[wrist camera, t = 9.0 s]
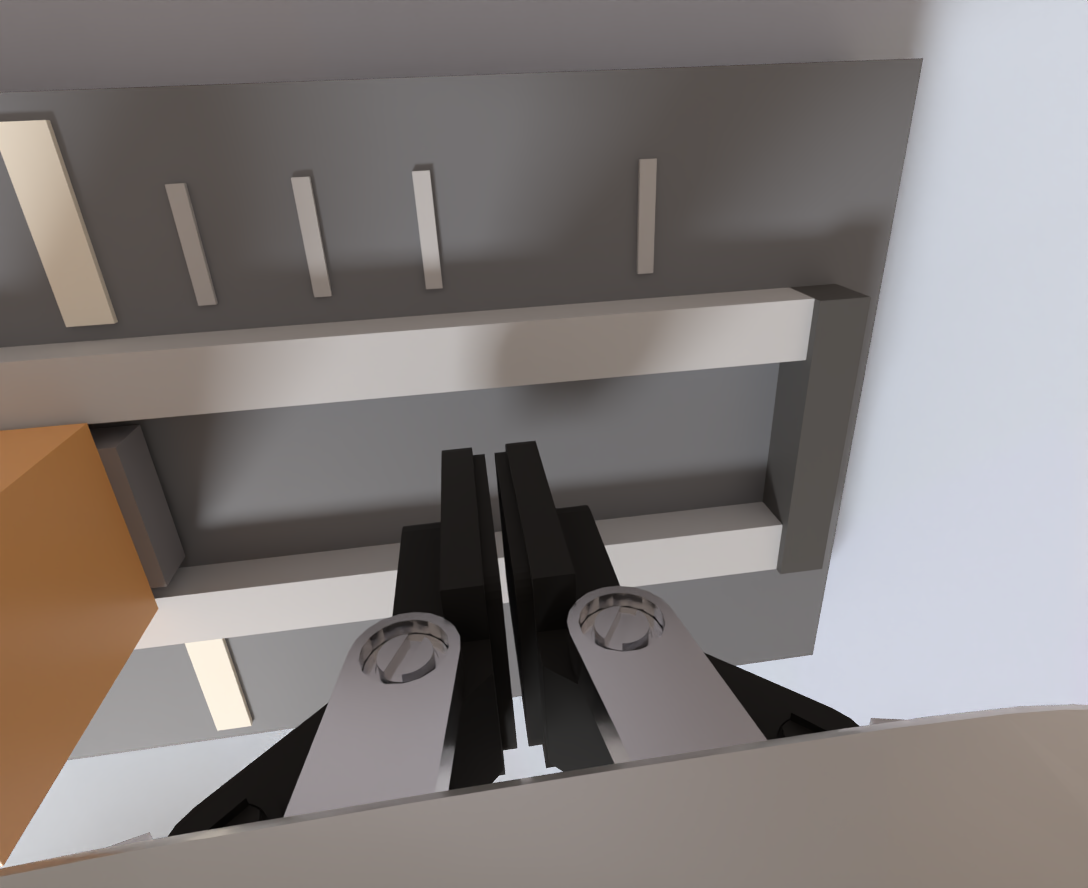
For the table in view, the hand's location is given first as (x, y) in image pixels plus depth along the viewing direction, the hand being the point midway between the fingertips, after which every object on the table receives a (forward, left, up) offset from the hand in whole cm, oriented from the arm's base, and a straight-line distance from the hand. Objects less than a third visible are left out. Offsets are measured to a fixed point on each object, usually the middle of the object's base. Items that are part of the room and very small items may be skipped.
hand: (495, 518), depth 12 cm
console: (+3, 0, -4) cm, 5 cm away
